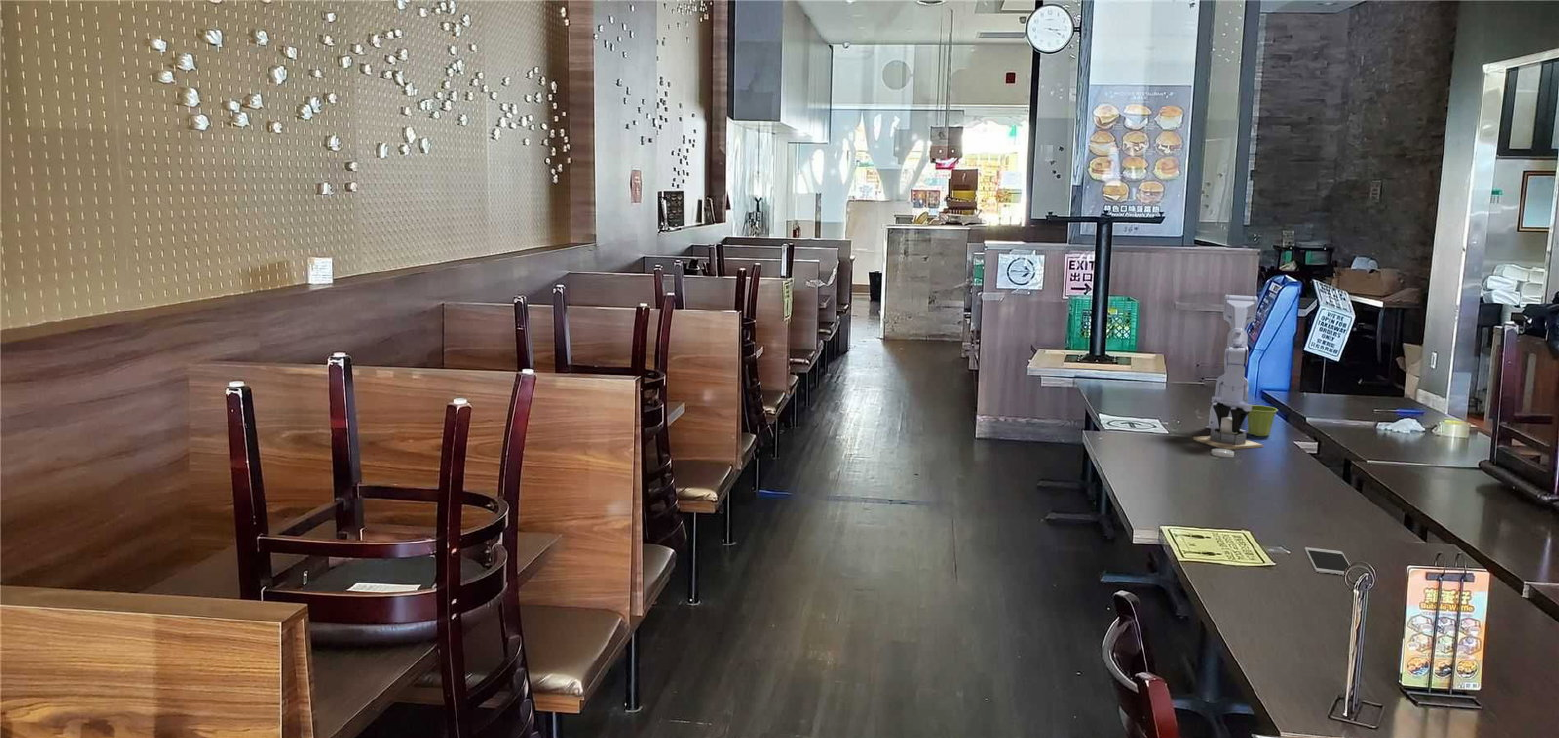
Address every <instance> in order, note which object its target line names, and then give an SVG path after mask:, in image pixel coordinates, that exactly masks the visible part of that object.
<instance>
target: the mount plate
mask: <svg viewBox="0 0 1559 738" xmlns="http://www.w3.org/2000/svg"><path fill="white" fill-rule="evenodd" d="M1192 439H1193V440H1194V441H1197V442H1200V443H1203V444H1207V445H1209V446H1212V447H1216V448H1218V449H1227V450H1231V451H1233V450H1245V449H1246V450H1247V449H1256V448H1257V449H1258V448H1264V444H1261V443H1259V442H1255V441H1251V440H1248V439H1246V444H1240V445H1231V444H1222V443H1218V442H1214V441H1211V440H1210V435H1208V436H1207V435H1205V436H1202V435H1201V436H1193V438H1192Z"/></svg>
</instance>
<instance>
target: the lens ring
mask: <svg viewBox="0 0 1559 738" xmlns="http://www.w3.org/2000/svg"><path fill="white" fill-rule="evenodd" d="M1242 430H1243V429H1242ZM1242 430H1240V431H1239V432H1238V434H1226V433H1220V428H1212V429H1211V428H1210V435H1209V436H1210V440H1211V441H1214V442H1218V443H1222V444H1231V445H1240V444H1246V440H1247V434H1248V431H1246V430H1245V431H1246V432H1245V431H1242Z"/></svg>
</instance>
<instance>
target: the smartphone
mask: <svg viewBox="0 0 1559 738" xmlns="http://www.w3.org/2000/svg"><path fill="white" fill-rule="evenodd" d="M1304 552H1305V553H1306V556H1307V557H1308V559H1309V561H1310V563H1311V566H1312V567H1313V568H1314V571H1315V573H1317V572H1319V573H1318V574H1324V573H1332V574H1333V573H1336V574H1339V575H1338V576H1340V575H1341V574H1342V576H1341V577H1345V576H1344V571H1345V569H1346V568H1347V567H1348V566H1349V565H1350V566H1351V563H1349V561H1348V559H1347V558H1346V556H1345V554H1344V553H1343V551H1341V550H1334V549H1333V550H1332V549H1324V548H1318V547H1317V548H1316V547H1307V546H1305V547H1304ZM1332 574H1331V575H1332Z"/></svg>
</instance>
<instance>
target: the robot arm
mask: <svg viewBox="0 0 1559 738" xmlns="http://www.w3.org/2000/svg"><path fill="white" fill-rule="evenodd" d="M1258 302H1259V301H1258V296H1257V295H1253V296H1252V295H1237V294H1236V295H1235V294H1227V293H1226V294H1225V295H1224V298H1223V309H1222V312H1223V313H1222V317H1223V321H1226V323H1228V324H1229V327H1230V331H1229V332H1228V333H1227V340H1226V342H1227V343H1226V348H1225V349H1224V356H1223V358H1224V359H1223V366H1224V368H1223V370H1224V373H1223V374H1221V375H1220V376H1218V377H1217V379H1216V383H1215V392H1214V396H1212V397H1211V403H1212V404H1211V406H1210V410H1209V419H1208V425H1207V426H1206V428H1207V429H1210V430H1211V429H1212V428H1221V418H1222V417H1232V432H1239V431H1240V430H1242V431H1245V432H1247V430H1246V429H1245V430H1244V429H1241V428H1242V425H1243V423H1244V421H1245V419H1246V417H1248V414H1249V411H1252V404H1249V403H1248V400H1249V399H1248V398H1249V389H1250V387H1249V385H1250V382H1249V380H1248V379H1247V378H1246V377H1245V376H1246V375H1245V374H1246V367H1247V365H1248V361H1249V346H1248V340H1249V338H1248V337H1249V335H1248V332H1247V331H1246V328H1247V326H1248V324H1251V323H1252V322H1254V321H1255V319H1256V315H1257V311H1258Z"/></svg>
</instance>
